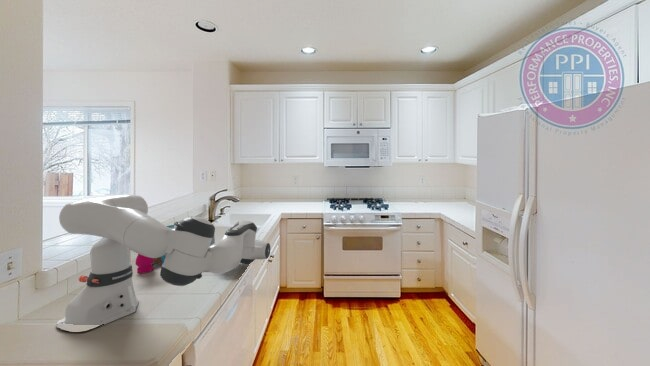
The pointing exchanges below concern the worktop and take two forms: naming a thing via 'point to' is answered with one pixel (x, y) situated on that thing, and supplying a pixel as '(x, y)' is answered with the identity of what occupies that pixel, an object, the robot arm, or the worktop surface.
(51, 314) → the worktop surface
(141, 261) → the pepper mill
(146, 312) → the worktop surface
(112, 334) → the worktop surface
